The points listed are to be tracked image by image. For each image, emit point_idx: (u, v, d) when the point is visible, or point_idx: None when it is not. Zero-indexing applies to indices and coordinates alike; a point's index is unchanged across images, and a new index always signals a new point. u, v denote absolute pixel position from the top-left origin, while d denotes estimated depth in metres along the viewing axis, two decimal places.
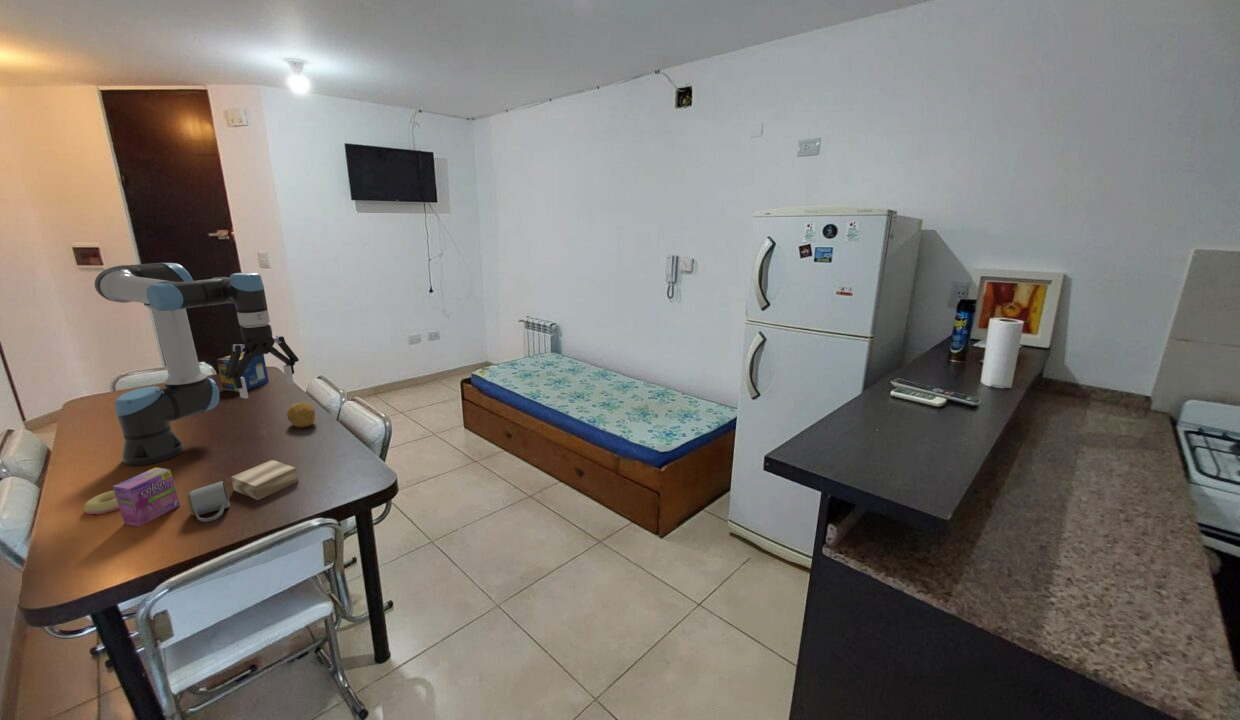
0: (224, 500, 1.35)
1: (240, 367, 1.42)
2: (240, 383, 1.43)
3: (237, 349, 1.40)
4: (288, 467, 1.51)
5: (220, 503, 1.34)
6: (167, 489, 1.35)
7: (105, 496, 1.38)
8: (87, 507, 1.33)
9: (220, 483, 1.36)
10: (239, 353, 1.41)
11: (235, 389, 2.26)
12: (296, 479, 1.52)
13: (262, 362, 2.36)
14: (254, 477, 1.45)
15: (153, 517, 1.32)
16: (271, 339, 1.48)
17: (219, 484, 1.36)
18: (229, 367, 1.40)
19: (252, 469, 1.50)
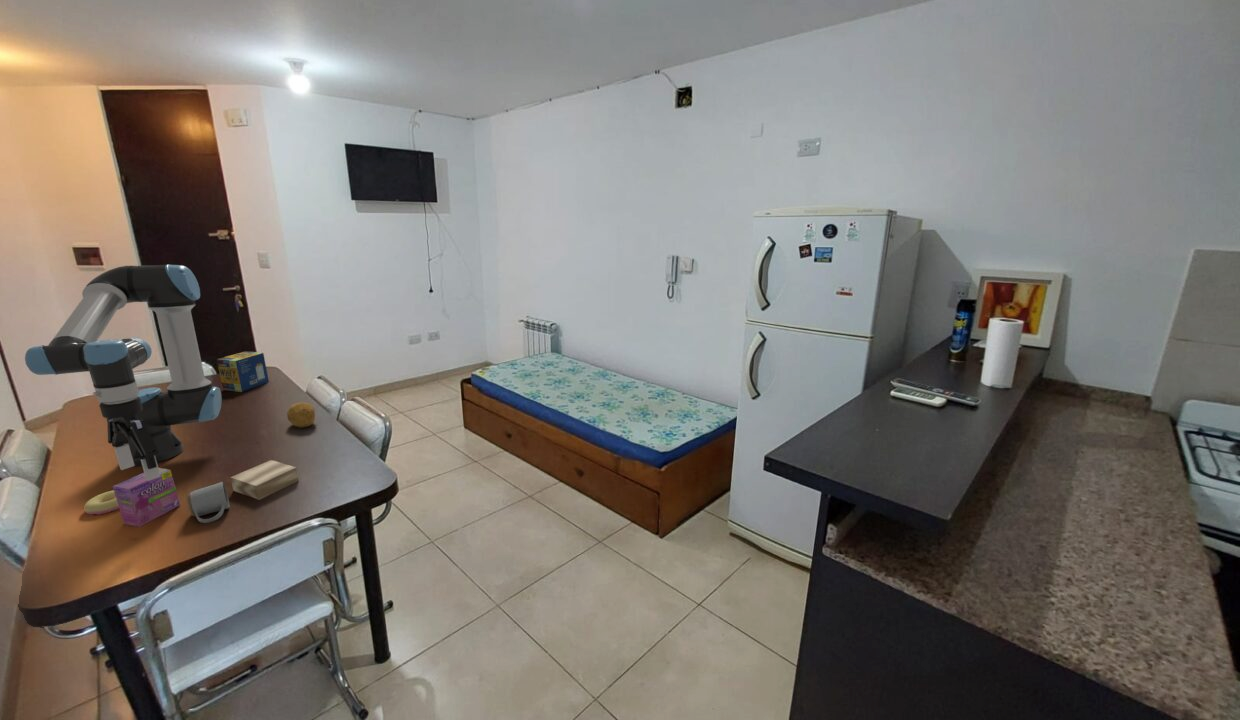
0: (224, 501, 1.34)
1: None
2: None
3: (107, 418, 1.27)
4: (288, 467, 1.51)
5: (220, 504, 1.34)
6: (167, 489, 1.35)
7: (105, 496, 1.38)
8: (87, 507, 1.33)
9: (220, 484, 1.36)
10: (109, 423, 1.28)
11: (235, 389, 2.26)
12: (296, 479, 1.52)
13: (262, 362, 2.36)
14: (254, 477, 1.45)
15: (153, 517, 1.32)
16: (125, 421, 1.23)
17: (219, 485, 1.35)
18: None
19: (251, 469, 1.50)
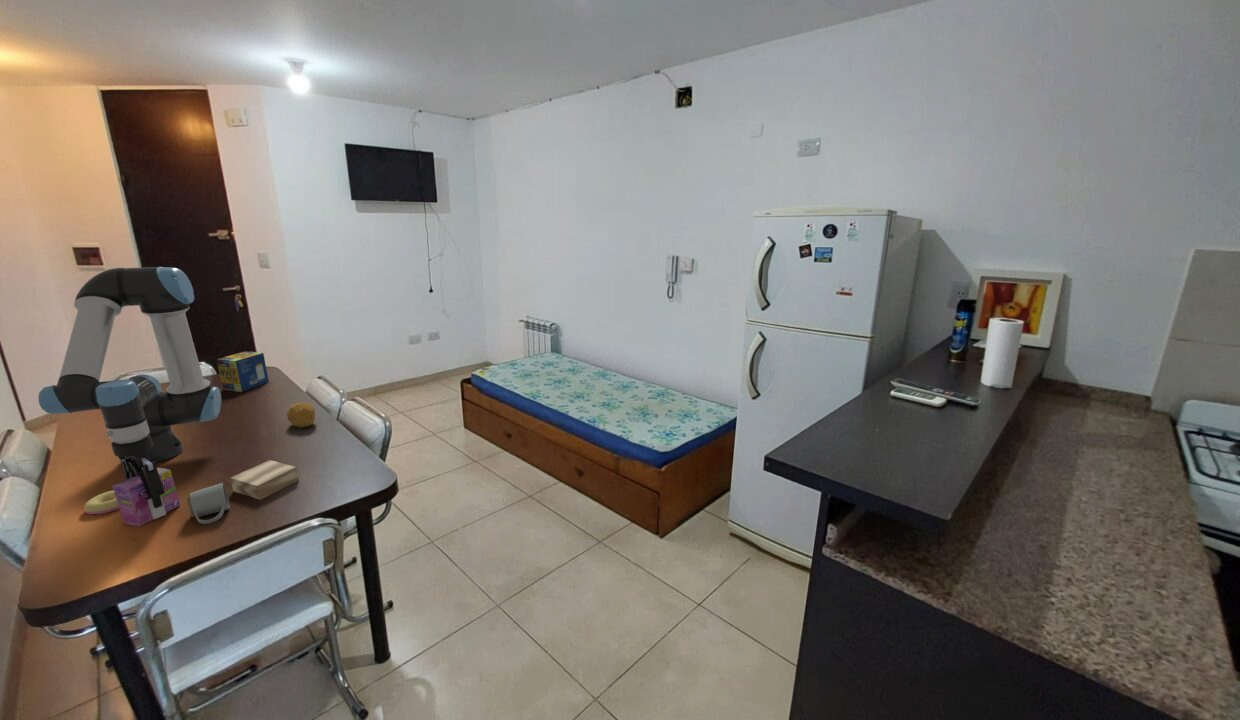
0: (224, 502, 1.34)
1: None
2: None
3: (120, 459, 1.31)
4: (288, 467, 1.51)
5: (220, 505, 1.34)
6: (166, 489, 1.34)
7: (105, 496, 1.38)
8: (87, 507, 1.33)
9: (220, 485, 1.35)
10: (122, 463, 1.31)
11: (235, 389, 2.26)
12: (296, 478, 1.52)
13: (262, 362, 2.36)
14: (254, 478, 1.45)
15: None
16: (137, 460, 1.27)
17: (219, 486, 1.35)
18: None
19: (251, 469, 1.49)
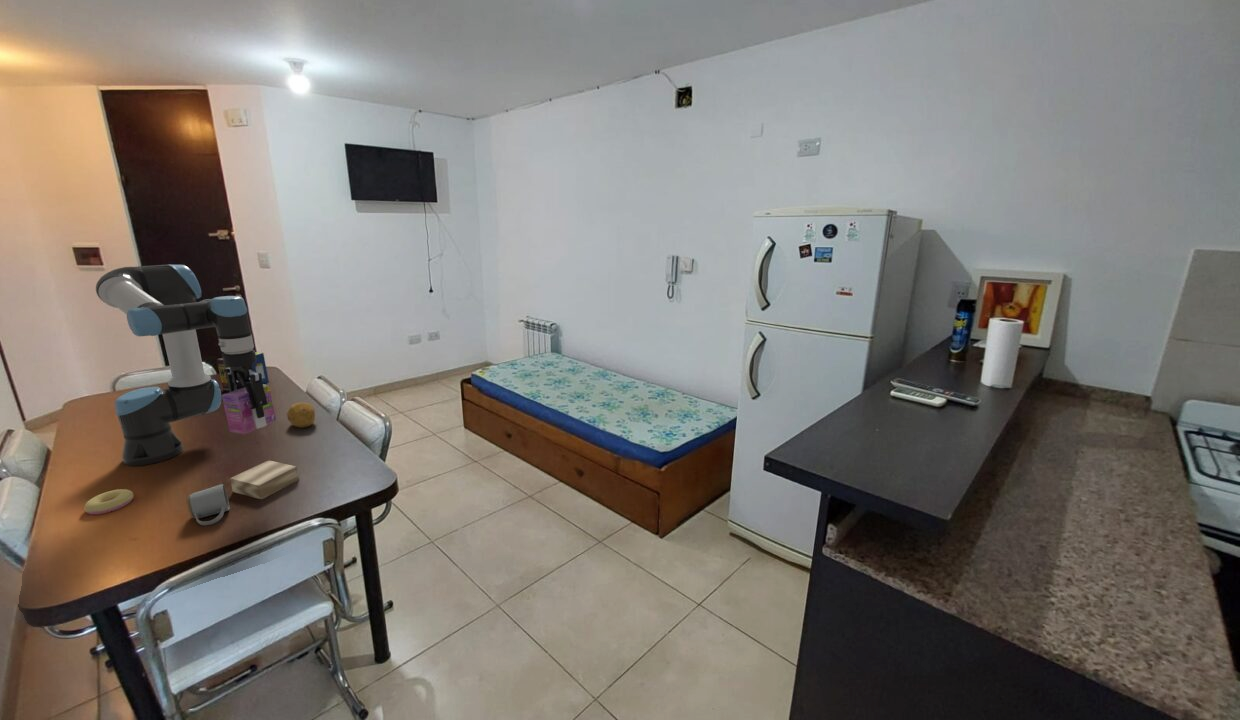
0: (224, 503, 1.33)
1: None
2: None
3: None
4: (288, 466, 1.52)
5: (220, 506, 1.33)
6: None
7: (105, 496, 1.38)
8: (87, 507, 1.33)
9: (220, 486, 1.35)
10: (228, 376, 1.41)
11: None
12: (297, 478, 1.53)
13: (262, 362, 2.36)
14: (255, 478, 1.45)
15: None
16: (244, 370, 1.36)
17: (219, 487, 1.34)
18: None
19: (250, 470, 1.49)
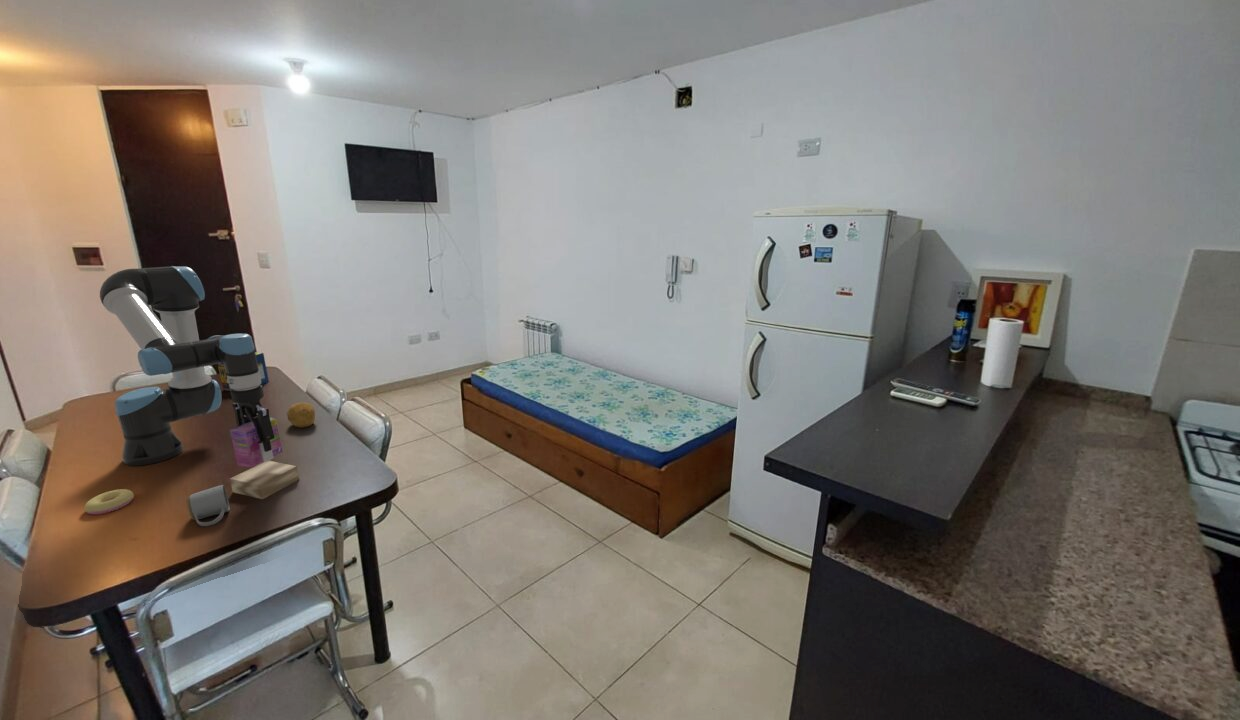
0: (224, 504, 1.33)
1: None
2: None
3: (233, 407, 1.44)
4: (288, 466, 1.52)
5: (220, 507, 1.33)
6: None
7: (105, 496, 1.38)
8: (87, 507, 1.33)
9: (220, 487, 1.34)
10: (236, 411, 1.44)
11: None
12: (297, 477, 1.53)
13: (262, 362, 2.36)
14: (255, 478, 1.45)
15: None
16: (252, 406, 1.39)
17: (219, 488, 1.34)
18: None
19: (250, 470, 1.49)
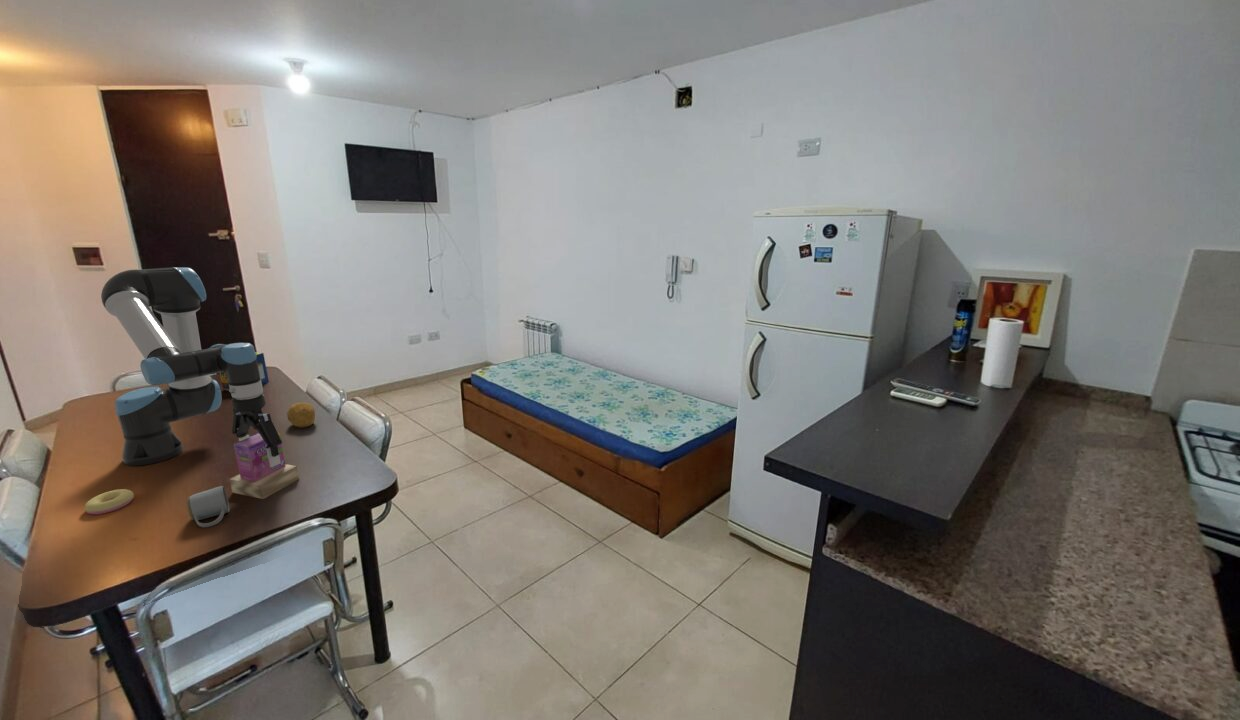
0: (224, 505, 1.33)
1: None
2: None
3: (234, 411, 1.44)
4: (288, 466, 1.52)
5: (220, 508, 1.32)
6: None
7: (105, 496, 1.38)
8: (87, 507, 1.33)
9: (220, 488, 1.34)
10: (235, 416, 1.45)
11: None
12: (297, 477, 1.53)
13: (262, 362, 2.36)
14: None
15: (265, 474, 1.46)
16: (253, 414, 1.40)
17: (219, 488, 1.34)
18: None
19: None
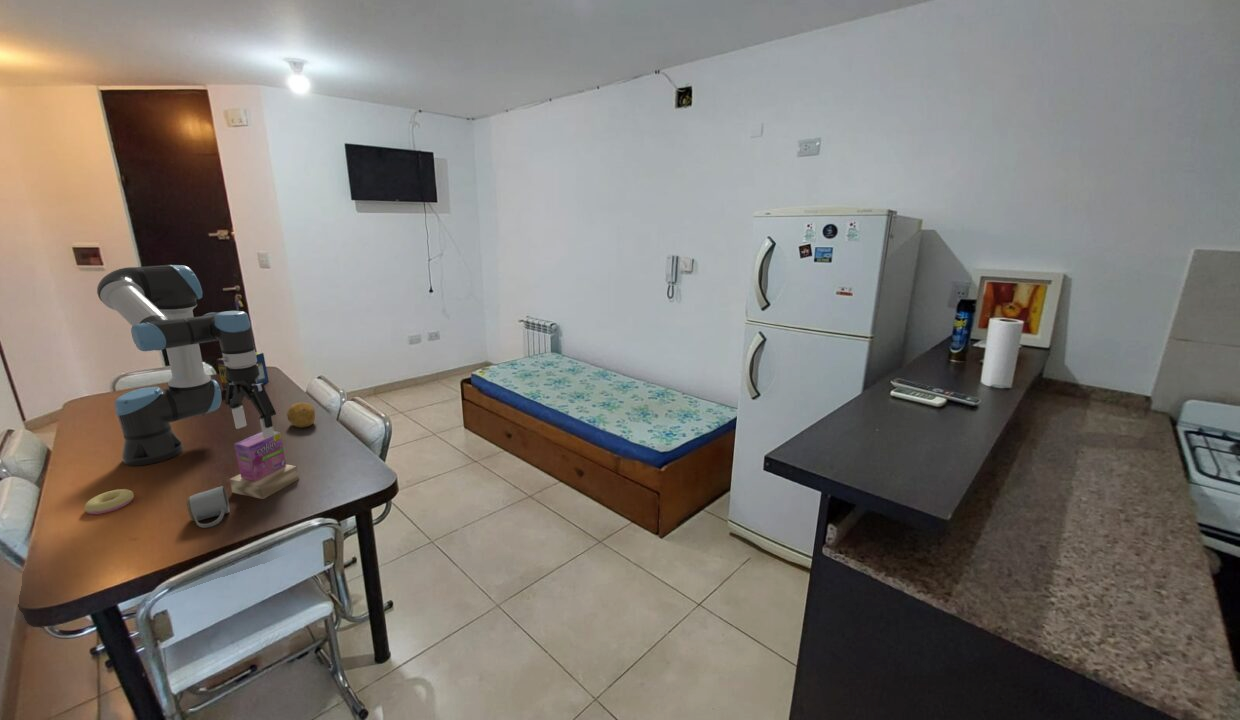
0: (224, 505, 1.32)
1: None
2: None
3: (227, 381, 1.42)
4: (288, 466, 1.52)
5: (220, 508, 1.32)
6: (277, 450, 1.49)
7: (105, 496, 1.38)
8: (87, 507, 1.33)
9: (220, 488, 1.34)
10: (228, 386, 1.42)
11: None
12: (297, 477, 1.53)
13: (262, 362, 2.36)
14: None
15: (265, 474, 1.46)
16: (247, 384, 1.38)
17: (219, 489, 1.33)
18: None
19: None
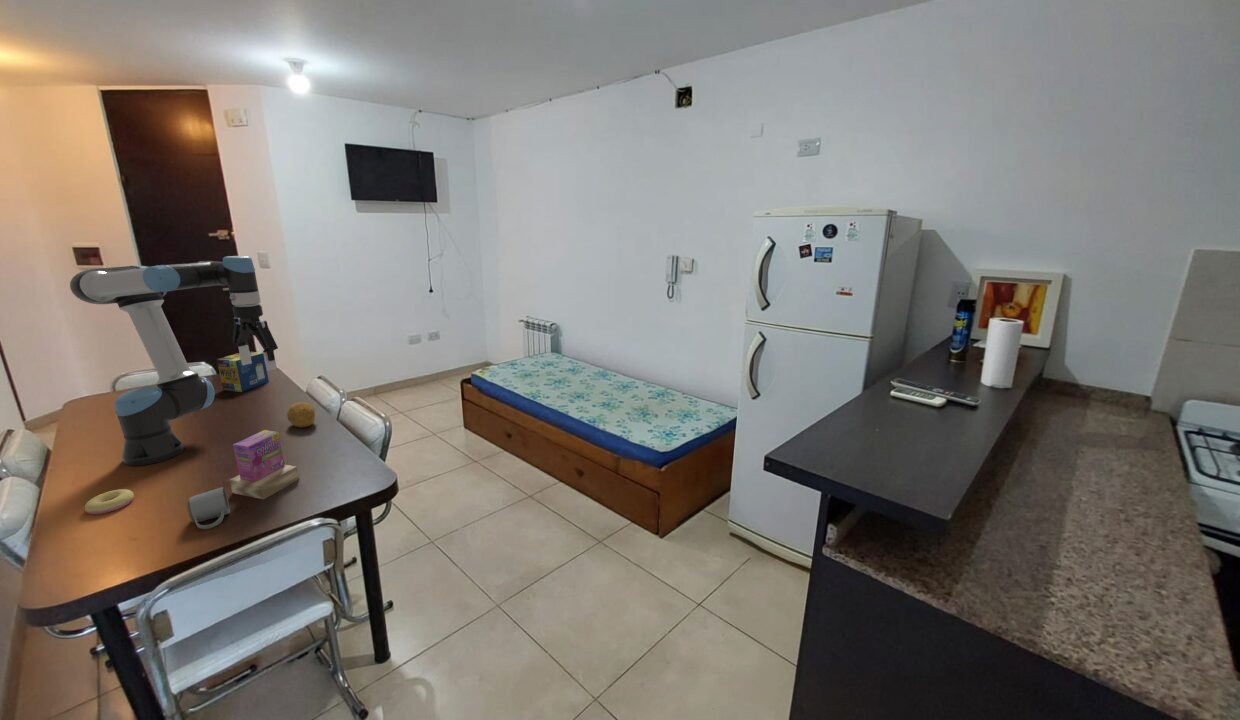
0: (224, 507, 1.32)
1: None
2: None
3: (234, 321, 1.59)
4: (288, 467, 1.52)
5: (220, 510, 1.31)
6: (275, 449, 1.49)
7: (106, 496, 1.38)
8: (87, 507, 1.33)
9: (220, 489, 1.33)
10: (235, 325, 1.59)
11: (235, 389, 2.26)
12: (297, 478, 1.53)
13: (262, 362, 2.36)
14: None
15: (265, 474, 1.46)
16: (252, 321, 1.55)
17: (219, 490, 1.33)
18: None
19: None
